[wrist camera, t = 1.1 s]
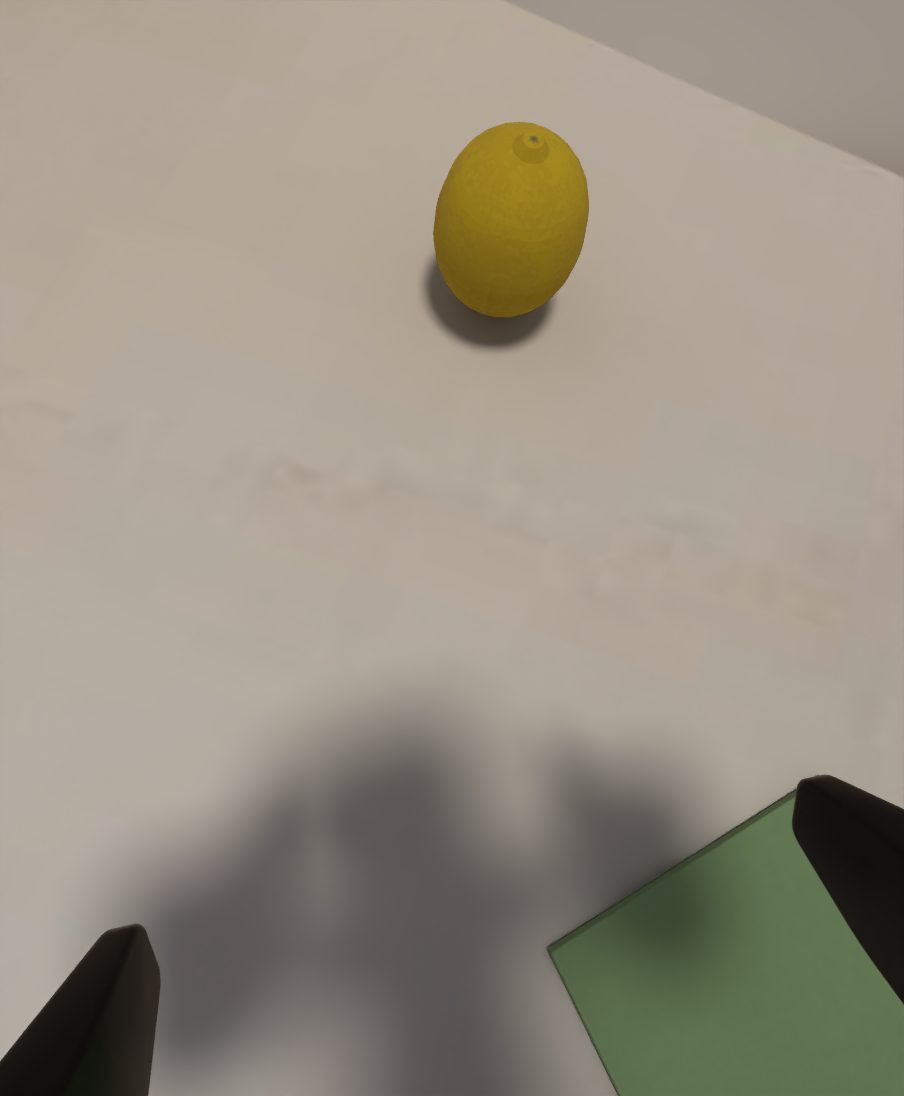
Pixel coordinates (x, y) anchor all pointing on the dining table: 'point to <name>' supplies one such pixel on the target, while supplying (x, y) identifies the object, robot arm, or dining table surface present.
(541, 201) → the lemon
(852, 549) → the dining table surface
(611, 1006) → the towel
